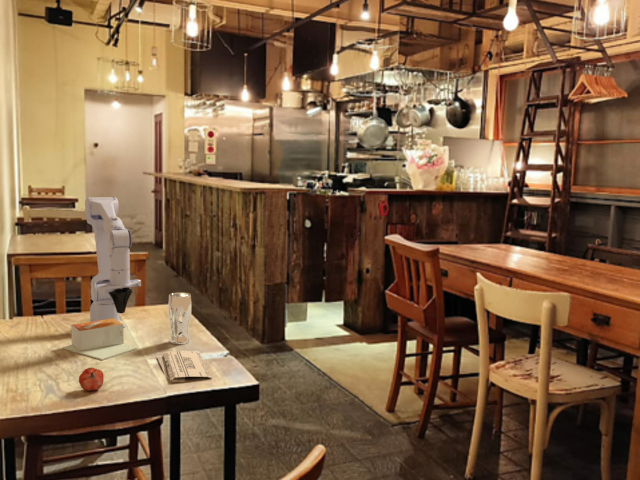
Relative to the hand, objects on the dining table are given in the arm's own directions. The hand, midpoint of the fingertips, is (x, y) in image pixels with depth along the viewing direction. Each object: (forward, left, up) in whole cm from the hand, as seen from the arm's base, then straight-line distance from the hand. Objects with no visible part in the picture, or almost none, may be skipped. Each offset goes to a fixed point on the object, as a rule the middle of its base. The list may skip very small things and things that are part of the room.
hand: (120, 312), depth 177 cm
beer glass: (+14, +11, -10) cm, 20 cm away
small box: (-1, 0, -6) cm, 6 cm away
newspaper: (+31, -5, -10) cm, 33 cm away
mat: (0, -8, -9) cm, 12 cm away
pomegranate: (+24, -29, -10) cm, 39 cm away
